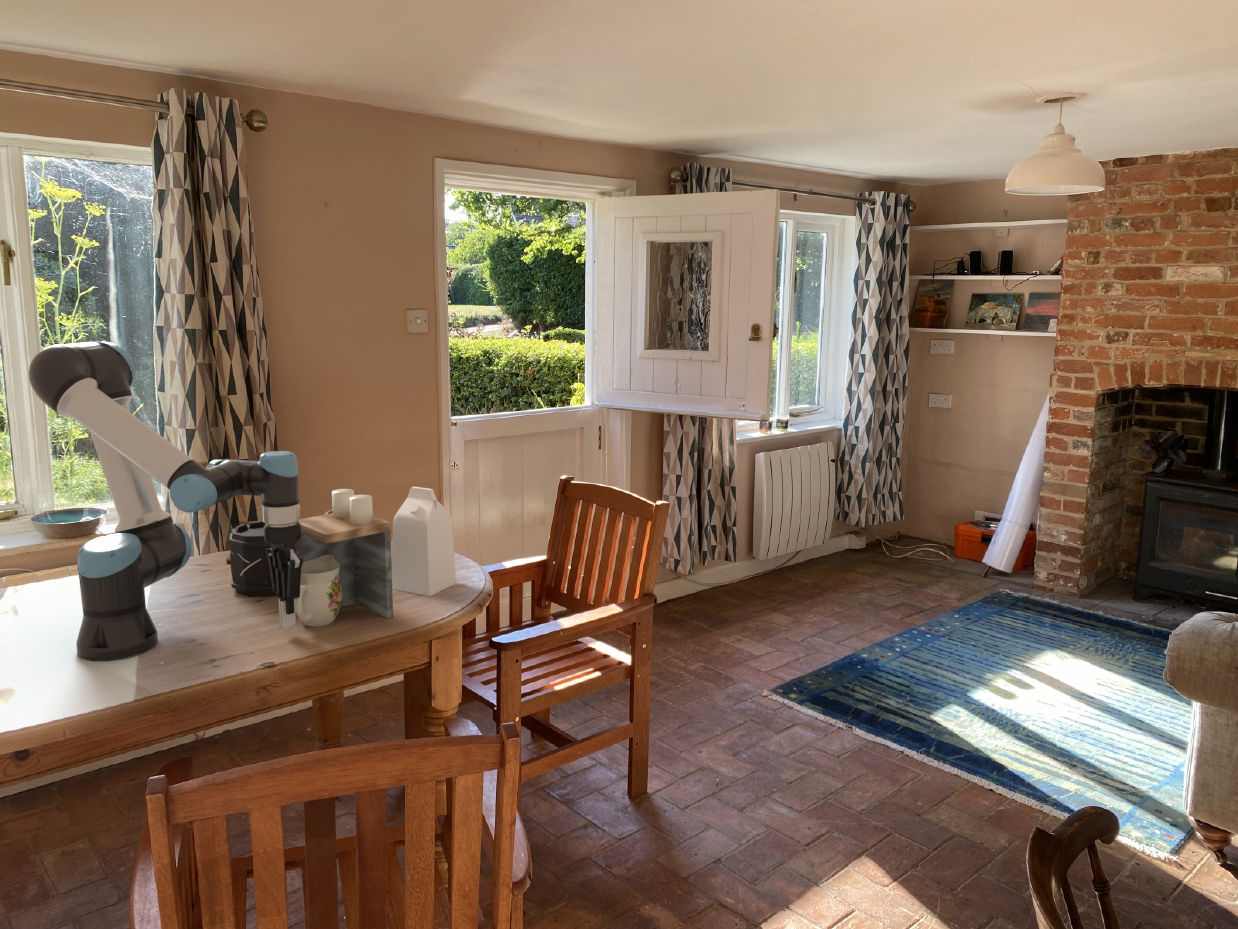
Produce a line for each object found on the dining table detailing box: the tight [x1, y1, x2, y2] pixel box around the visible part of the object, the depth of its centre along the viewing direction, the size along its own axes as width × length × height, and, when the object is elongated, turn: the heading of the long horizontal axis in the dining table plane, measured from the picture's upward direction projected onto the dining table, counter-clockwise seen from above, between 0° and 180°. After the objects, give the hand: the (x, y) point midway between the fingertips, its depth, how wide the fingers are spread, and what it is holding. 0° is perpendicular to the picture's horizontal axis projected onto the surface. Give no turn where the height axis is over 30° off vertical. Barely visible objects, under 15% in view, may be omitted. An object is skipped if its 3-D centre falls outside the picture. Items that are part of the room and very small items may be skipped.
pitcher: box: [294, 554, 343, 628], centre depth 208 cm, size 11×18×14 cm, turn 174°
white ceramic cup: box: [349, 494, 374, 525], centre depth 208 cm, size 5×5×6 cm
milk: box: [391, 486, 457, 597], centre depth 234 cm, size 12×12×26 cm
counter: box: [295, 513, 394, 619], centre depth 211 cm, size 16×16×23 cm
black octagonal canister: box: [225, 520, 277, 598], centre depth 231 cm, size 18×18×16 cm
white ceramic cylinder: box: [331, 488, 355, 519], centre depth 213 cm, size 5×5×6 cm
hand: (287, 626), depth 201 cm, fingers closed
